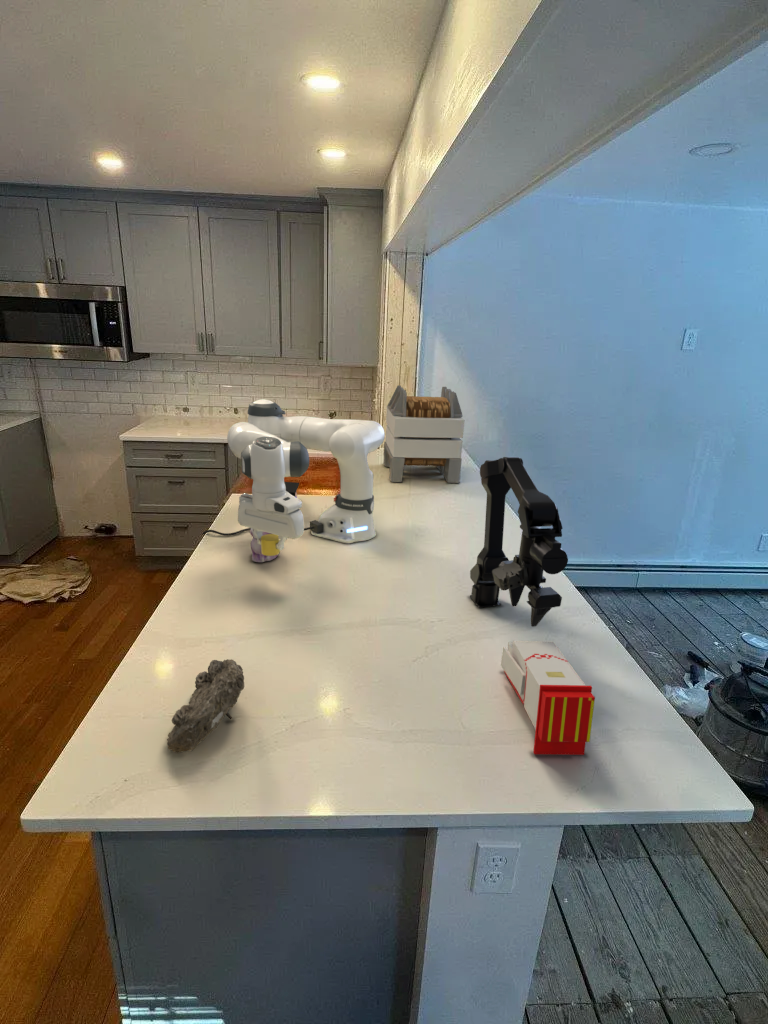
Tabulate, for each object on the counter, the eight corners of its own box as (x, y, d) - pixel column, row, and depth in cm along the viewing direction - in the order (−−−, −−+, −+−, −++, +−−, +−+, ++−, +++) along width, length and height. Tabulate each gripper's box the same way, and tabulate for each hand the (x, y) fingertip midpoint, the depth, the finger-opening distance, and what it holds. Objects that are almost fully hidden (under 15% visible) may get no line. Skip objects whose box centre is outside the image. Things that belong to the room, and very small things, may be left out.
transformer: (382, 463, 289) (386, 382, 275) (445, 464, 293) (451, 384, 279) (390, 482, 257) (394, 392, 243) (460, 483, 261) (468, 394, 247)
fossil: (192, 660, 117) (244, 628, 112) (224, 691, 120) (276, 661, 115) (142, 746, 98) (202, 712, 93) (182, 779, 101) (242, 748, 96)
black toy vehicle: (295, 514, 218) (300, 497, 231) (295, 496, 214) (299, 480, 228) (278, 513, 217) (283, 497, 231) (277, 495, 214) (283, 480, 227)
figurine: (254, 565, 170) (252, 519, 165) (245, 552, 179) (243, 508, 174) (284, 560, 175) (283, 515, 169) (274, 548, 183) (273, 504, 178)
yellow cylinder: (271, 557, 153) (271, 542, 152) (257, 553, 156) (257, 538, 154) (283, 551, 158) (283, 536, 156) (269, 547, 160) (269, 532, 158)
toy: (549, 624, 127) (604, 693, 98) (544, 678, 130) (596, 762, 100) (496, 622, 127) (535, 692, 97) (491, 677, 129) (528, 761, 100)
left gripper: (231, 494, 153) (233, 541, 158) (292, 509, 144) (293, 558, 149) (247, 489, 158) (249, 534, 163) (307, 502, 150) (307, 550, 154)
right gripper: (481, 540, 132) (474, 599, 138) (520, 575, 115) (511, 641, 121) (524, 537, 135) (516, 595, 141) (568, 571, 118) (557, 635, 124)
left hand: (270, 546), depth 156 cm, fingers closed on yellow cylinder, 5 cm apart
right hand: (523, 615), depth 131 cm, fingers open, 9 cm apart
